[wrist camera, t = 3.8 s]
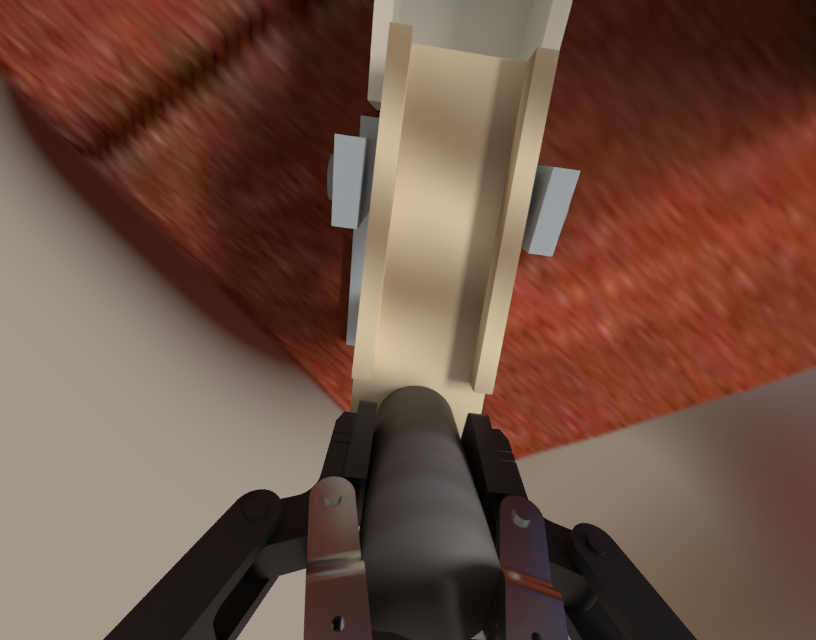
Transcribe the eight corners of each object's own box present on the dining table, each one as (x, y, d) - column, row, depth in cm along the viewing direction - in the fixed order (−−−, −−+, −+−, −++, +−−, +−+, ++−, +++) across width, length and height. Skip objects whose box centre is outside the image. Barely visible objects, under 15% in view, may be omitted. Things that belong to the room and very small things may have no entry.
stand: (361, 116, 20) (324, 91, 11) (525, 141, 20) (604, 135, 12) (346, 340, 26) (316, 427, 18) (471, 356, 27) (496, 447, 19)
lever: (388, 56, 14) (368, -297, 5) (537, 81, 14) (776, -211, 5) (347, 436, 17) (289, 640, 8) (468, 449, 18) (540, 660, 9)
